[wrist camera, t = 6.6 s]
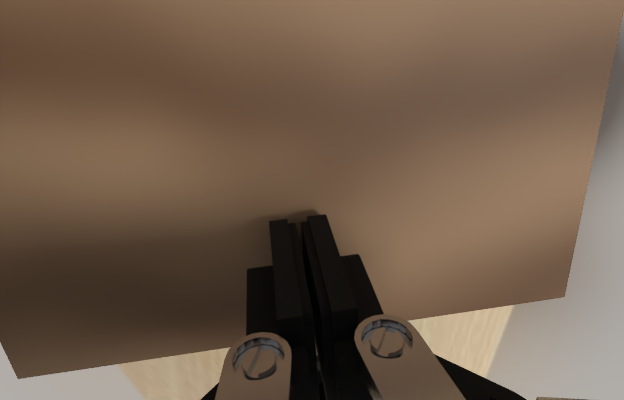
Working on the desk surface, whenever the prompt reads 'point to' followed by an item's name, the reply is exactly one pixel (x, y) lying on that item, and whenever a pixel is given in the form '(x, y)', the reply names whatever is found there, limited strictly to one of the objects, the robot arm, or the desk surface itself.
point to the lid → (283, 159)
